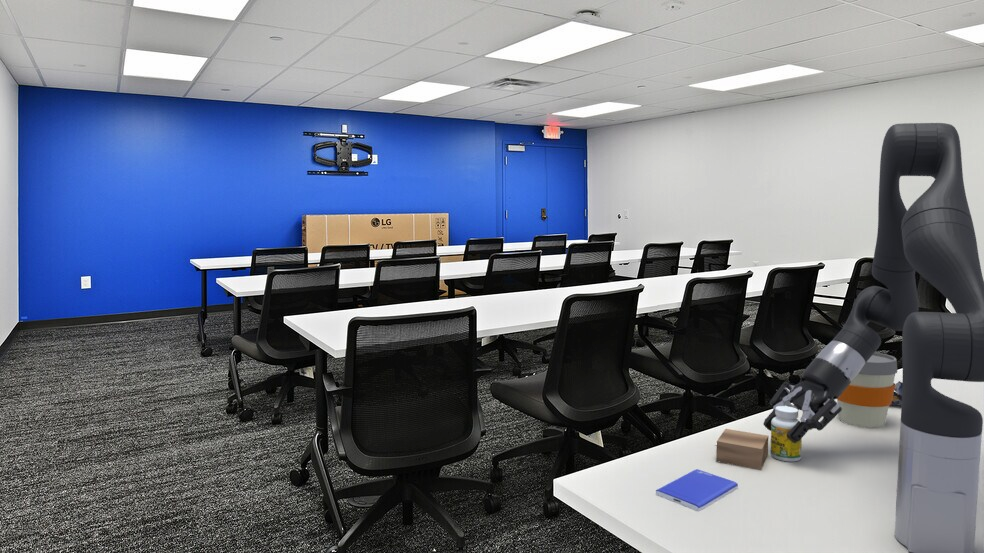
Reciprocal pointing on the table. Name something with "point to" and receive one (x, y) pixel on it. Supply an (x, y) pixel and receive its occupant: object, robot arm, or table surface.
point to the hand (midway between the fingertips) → (778, 433)
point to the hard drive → (697, 489)
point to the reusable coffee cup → (869, 393)
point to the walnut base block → (742, 448)
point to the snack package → (897, 394)
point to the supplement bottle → (784, 435)
